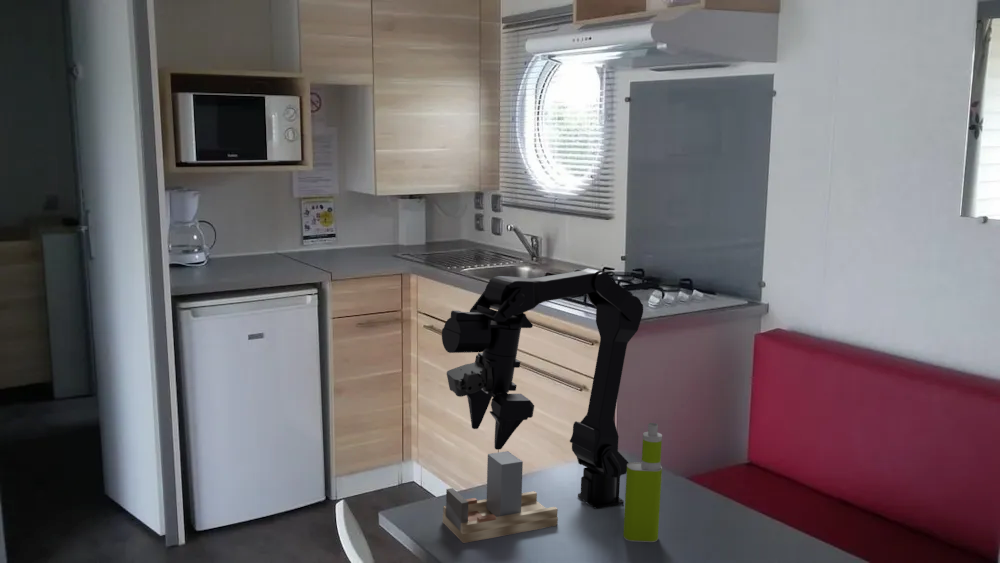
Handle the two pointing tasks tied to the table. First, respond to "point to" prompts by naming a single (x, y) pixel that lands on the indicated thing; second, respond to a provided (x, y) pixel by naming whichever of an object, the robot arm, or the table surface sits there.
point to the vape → (644, 490)
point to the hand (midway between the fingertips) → (486, 438)
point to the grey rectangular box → (504, 484)
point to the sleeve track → (494, 517)
